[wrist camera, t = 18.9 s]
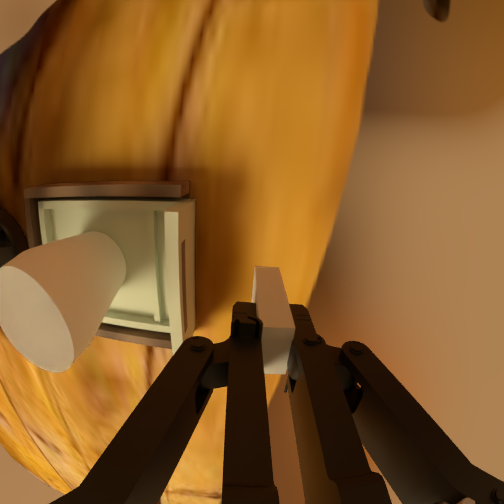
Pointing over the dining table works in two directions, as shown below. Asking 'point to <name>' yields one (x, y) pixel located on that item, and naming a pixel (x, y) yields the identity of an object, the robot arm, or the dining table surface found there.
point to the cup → (59, 297)
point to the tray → (139, 255)
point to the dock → (104, 190)
